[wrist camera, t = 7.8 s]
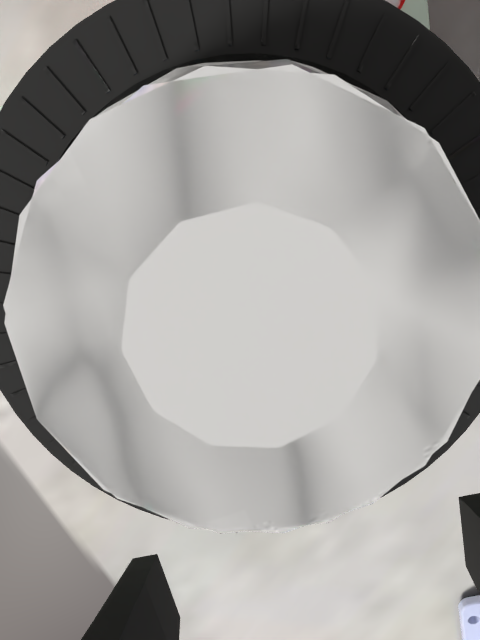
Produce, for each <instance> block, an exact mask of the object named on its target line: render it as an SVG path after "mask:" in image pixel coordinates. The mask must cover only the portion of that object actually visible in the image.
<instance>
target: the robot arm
mask: <svg viewBox="0 0 480 640" xmlns="http://www.w3.org/2000/svg"><path fill="white" fill-rule="evenodd" d="M459 504H460V514H461V524H462V533H463V543H464V552H465V562H466V567H467V569H468V571H469V573H470V576H471V578H472V580H473V582H474V584H475V586H476V588H477V590H478V592H479V594H480V493H478V494H473V495H467V496H462V497H459ZM459 616H460V625H461V633H462V640H480V595H477V596H472V597H467V598H464V599H463V600H461V602H460V603H459ZM179 629H180V616H179V613H178V610H177V607H176V605H175V602H174V599H173V596H172V594H171V591H170V588H169V585H168V583H167V580H166V577H165V574H164V572H163V569H162V566H161V563H160V561H159V558H158V555H157V554H155V555H150V556H144V557H139V558H134V559H132V561H131V562H130V564H129V565H128V567H127V568H126V570H125V572H124V573H123V575H122V576H121V578H120V579H119V581H118V583H117V584H116V586H115V587H114V589H113V591H112V592H111V594H110V595H109V597H108V599H107V600H106V602H105V603H104V605H103V607H102V608H101V610H100V611H99V613H98V614H97V616H96V618H95V619H94V621H93V622H92V624H91V625H90V627H89V629H88V630H87V631H86V633H85V634H84V636H83V637H82V639H81V640H179Z"/></svg>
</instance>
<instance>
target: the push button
mask: <svg viewBox="0 0 480 640" xmlns="http://www.w3.org/2000/svg"><path fill="white" fill-rule="evenodd" d="M0 390H1V392H2V393H3V395H4V396H5V398H6V399H7V401H8V402H9V404H10V405H11V407H12V408H13V410H14V412H15V413H16V414H17V416H18V417H19V418H20V419H21V421H22V422H23V423H24V424H25V426H26V427H27V428H28V429H29V431H30V432H31V433H32V434H33V435H34V436H35V437H36V438H37V439H38V441H39V442H40V443H41V444H42V445H43V446H44V447H45V448H46V449H47V450H48V451H49V452H50V453H51V454H52V455H53V456H55V457H56V458H57V459H58V460H59V461H61V462H62V463H63V464H64V465H65V466H66V467H68V468H69V469H70V470H71V471H73V472H74V473H75V474H77V475H78V476H80V477H81V478H82V479H84V480H85V481H87V482H88V483H90V484H91V485H92V486H94V487H96V488H98V489H99V490H101V491H103V492H105V493H106V494H108V495H110V496H112V497H113V498H115V499H117V500H119V501H122V502H124V503H126V504H128V505H130V506H133V507H135V508H137V509H139V510H142V511H145V512H148V513H151V514H153V515H156V516H159V517H162V518H165V519H169V520H172V521H174V522H177V523H179V524H181V525H183V526H186V527H188V528H192V529H208V530H211V531H214V532H217V533H220V534H223V533H233V532H242V531H252V532H272V533H285V532H288V531H291V530H294V529H297V528H300V527H303V526H306V525H311V524H321V523H329V522H331V521H333V520H334V519H336V518H338V517H340V516H341V515H343V514H345V513H346V512H349V511H352V510H355V509H358V508H361V507H364V506H368V505H371V504H373V503H374V502H376V501H377V500H378V499H379V498H381V497H383V496H385V495H386V494H388V493H390V492H391V491H393V490H395V489H397V488H398V487H400V486H402V485H403V484H405V483H406V482H408V481H409V480H411V479H412V478H413V477H415V476H416V475H418V474H419V473H420V472H422V471H423V470H425V469H426V468H427V467H428V466H430V465H431V464H432V463H433V462H434V461H435V460H436V459H438V458H439V457H440V456H441V455H442V454H443V453H445V452H446V451H447V450H448V449H449V448H450V447H451V446H452V445H453V444H454V442H455V441H456V440H457V439H458V438H459V437H460V436H461V435H462V434H463V433H464V432H465V431H466V430H467V428H468V427H469V426H470V425H471V423H472V422H473V421H474V419H475V418H476V417H477V416H478V414H479V413H480V82H479V81H478V79H477V78H476V77H475V75H474V74H473V73H472V71H471V70H470V69H469V67H468V66H467V65H466V64H465V63H464V62H463V61H462V60H461V59H460V58H459V57H458V56H457V55H456V54H455V53H454V52H453V51H452V50H451V49H450V48H449V46H448V45H447V44H446V43H445V42H443V41H442V40H441V39H440V38H439V37H437V36H436V35H435V34H434V33H432V32H431V31H430V30H429V29H428V28H426V27H425V26H424V25H423V24H421V23H420V22H419V21H418V20H416V19H415V18H413V17H411V16H410V15H408V14H407V13H405V12H403V11H402V10H400V9H399V8H397V7H395V6H394V5H392V4H391V3H389V2H387V1H385V0H115V1H113V2H111V3H109V4H107V5H106V6H104V7H102V8H101V9H99V10H98V11H96V12H95V13H93V14H92V15H90V16H89V17H87V18H86V19H84V20H83V21H81V22H80V23H78V24H77V25H75V26H74V27H73V28H72V29H71V30H69V31H68V32H67V33H66V34H65V35H64V36H62V37H61V38H60V39H59V40H58V41H56V42H55V43H54V44H53V45H52V46H51V47H49V49H48V50H47V51H46V52H45V53H44V54H43V55H42V56H41V57H40V58H39V59H38V60H37V62H36V63H35V64H34V65H33V66H32V67H31V68H30V69H29V70H28V71H27V72H26V74H25V75H24V76H23V78H22V79H21V81H20V82H19V83H18V85H17V86H16V87H15V89H14V90H13V92H12V93H11V94H10V96H9V97H8V99H7V100H6V102H5V103H4V105H3V107H2V109H1V111H0Z"/></svg>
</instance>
